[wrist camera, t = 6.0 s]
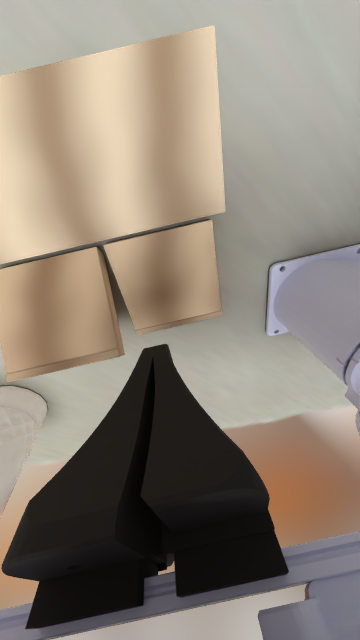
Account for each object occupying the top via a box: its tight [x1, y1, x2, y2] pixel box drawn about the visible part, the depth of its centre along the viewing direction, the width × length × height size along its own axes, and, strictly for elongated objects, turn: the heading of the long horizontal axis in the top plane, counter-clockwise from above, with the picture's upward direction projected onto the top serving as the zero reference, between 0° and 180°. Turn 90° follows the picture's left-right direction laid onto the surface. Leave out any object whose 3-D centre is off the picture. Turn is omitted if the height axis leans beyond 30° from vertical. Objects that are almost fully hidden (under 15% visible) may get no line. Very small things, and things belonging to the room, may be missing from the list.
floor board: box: [0, 25, 225, 264], centre depth 12 cm, size 18×8×1 cm, turn 101°
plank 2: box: [103, 219, 222, 335], centre depth 16 cm, size 8×8×1 cm
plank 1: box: [0, 247, 125, 382], centre depth 14 cm, size 8×8×1 cm
